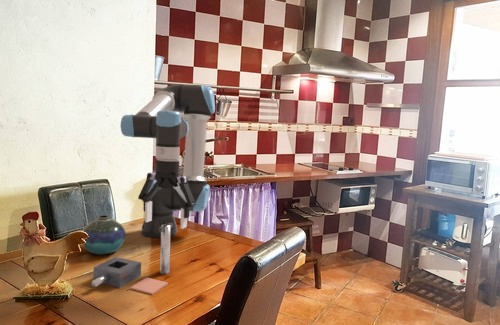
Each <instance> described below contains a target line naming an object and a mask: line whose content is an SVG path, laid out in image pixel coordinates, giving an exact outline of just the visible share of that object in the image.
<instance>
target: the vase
mask: <svg viewBox="0 0 500 325" xmlns="http://www.w3.org/2000/svg"><path fill="white" fill-rule="evenodd" d="M82 231H84V232H86V233H87V234H88V236H89V237H88V238H87V239H85V241H86V243H85V244H82V246H83V247H84V249H85V250H86V251H87V252H89V253H91V254H94V255H102V256H103V255H108V254H112V253H114V252H116V251H118V250H119V249H120V248H121V247H122V245H123V244H124V242H125V239H126V231H125V228H124V226H123V225H122V224H121V223H119V222H118V221H116V220H114V219H112V218H110V216H109V215H107V214H103V215H102V214H101V215H98V216H97V219H94V220H93V221H90V222H89V223H87V225H85V226H84V228H83V229H82Z"/></svg>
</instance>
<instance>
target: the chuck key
mask: <svg viewBox="0 0 500 325" xmlns="http://www.w3.org/2000/svg"><path fill="white" fill-rule="evenodd" d="M172 227H173V223H168V224H163V225H161V227H159V232H161V238H160V259H159V260H160V261H159V263H160V264H159V266H160V268H159V272H160V274H161V275H167V274H168V275H169V274H170V267H171V266H170V264H171V258H170V257H171V256H170V255H171V236H170V229H171V228H172Z"/></svg>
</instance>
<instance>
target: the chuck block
mask: <svg viewBox="0 0 500 325" xmlns="http://www.w3.org/2000/svg"><path fill="white" fill-rule="evenodd" d="M139 277H142V262H140V261H137V260H132V259H128V258H124V257H119V256H115V257H113V258H111V259H108V260H106V261H104V262H102V263H99V264H97V265H95V266H94V267H93V280H92V281H91V286H92V287H94V288H96V287H98V286H100V285H102V284H103V285H107V286H110V287H114V288H118V289H121V288H122V287H124V286H126V285H128V284H130V283H132V282H133V281H134V280H136V279H138V278H139Z"/></svg>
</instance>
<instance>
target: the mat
mask: <svg viewBox="0 0 500 325" xmlns="http://www.w3.org/2000/svg"><path fill="white" fill-rule="evenodd" d="M168 284H169V283H168V281H163V280H159V279H154V278H150V277H144V278H143V279H142V280H140V281H137V283H135V284H133V285H132V286H130V287H129V289H130V290H131V291H132V290H133V291H136V292H140V293H143V294H147V295H151V296H152V295H155V294H156V293H158V291H161V290H162V289H163V288H165V287H166V286H168Z"/></svg>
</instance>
